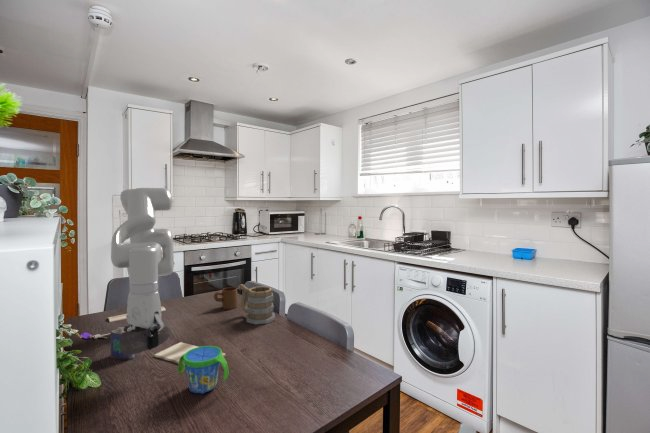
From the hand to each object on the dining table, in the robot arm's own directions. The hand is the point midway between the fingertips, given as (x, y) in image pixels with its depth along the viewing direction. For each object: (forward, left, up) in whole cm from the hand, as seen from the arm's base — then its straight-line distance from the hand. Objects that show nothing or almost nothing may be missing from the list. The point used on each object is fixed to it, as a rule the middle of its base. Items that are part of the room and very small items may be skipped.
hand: (145, 345), depth 100 cm
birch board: (+1, +16, -10) cm, 19 cm away
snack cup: (+20, +4, -11) cm, 23 cm away
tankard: (-2, +57, -11) cm, 58 cm away
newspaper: (-56, +36, -11) cm, 68 cm away
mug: (-24, +62, -11) cm, 67 cm away
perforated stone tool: (0, 0, -1) cm, 1 cm away
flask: (-20, +6, -11) cm, 24 cm away
